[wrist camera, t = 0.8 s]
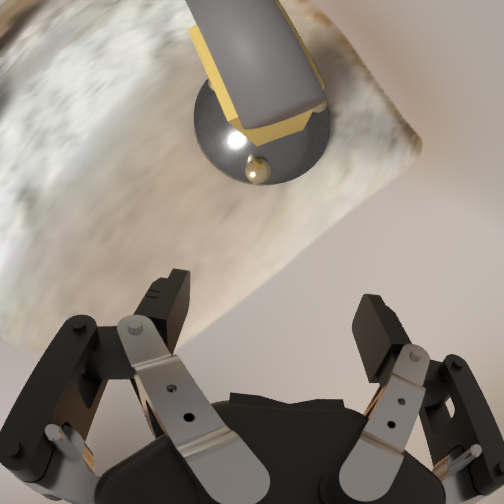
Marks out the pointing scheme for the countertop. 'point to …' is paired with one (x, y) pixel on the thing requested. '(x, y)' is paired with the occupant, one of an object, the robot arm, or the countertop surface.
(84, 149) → the countertop surface
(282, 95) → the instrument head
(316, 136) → the levelling base
